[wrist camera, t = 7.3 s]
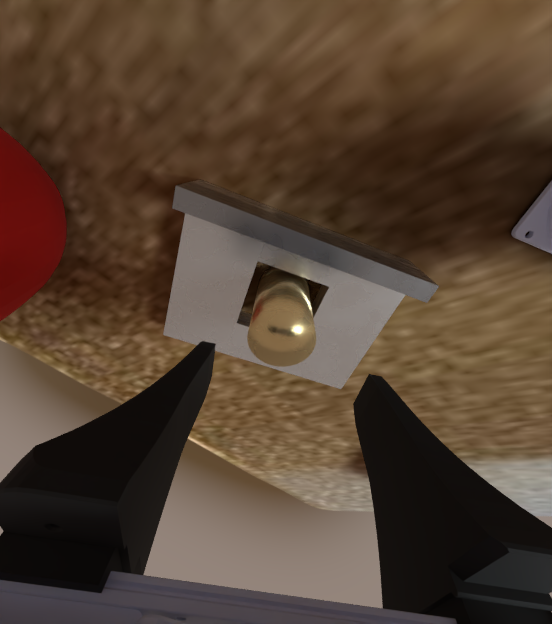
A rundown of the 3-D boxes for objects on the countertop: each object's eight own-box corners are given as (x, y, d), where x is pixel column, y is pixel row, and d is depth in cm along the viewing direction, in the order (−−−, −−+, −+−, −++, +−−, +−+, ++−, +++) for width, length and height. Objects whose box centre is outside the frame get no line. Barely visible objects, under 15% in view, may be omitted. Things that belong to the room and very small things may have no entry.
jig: (410, 261, 20) (439, 286, 16) (337, 373, 26) (346, 411, 22) (200, 179, 18) (175, 185, 14) (172, 321, 24) (149, 354, 20)
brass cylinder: (313, 270, 21) (324, 317, 15) (301, 314, 23) (307, 371, 17) (262, 260, 21) (252, 304, 14) (254, 306, 23) (243, 360, 16)
